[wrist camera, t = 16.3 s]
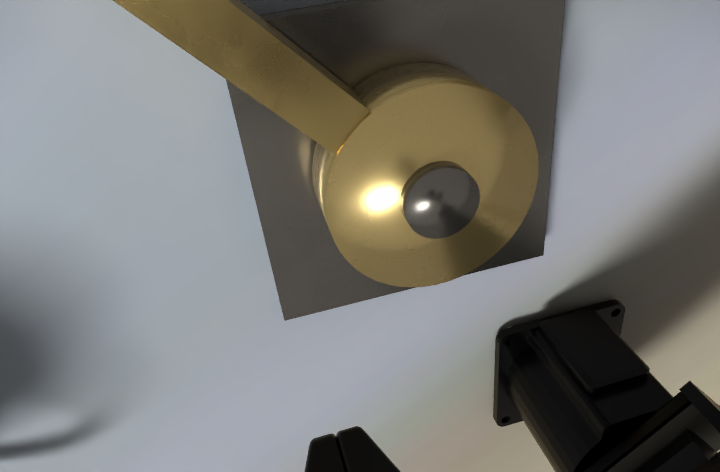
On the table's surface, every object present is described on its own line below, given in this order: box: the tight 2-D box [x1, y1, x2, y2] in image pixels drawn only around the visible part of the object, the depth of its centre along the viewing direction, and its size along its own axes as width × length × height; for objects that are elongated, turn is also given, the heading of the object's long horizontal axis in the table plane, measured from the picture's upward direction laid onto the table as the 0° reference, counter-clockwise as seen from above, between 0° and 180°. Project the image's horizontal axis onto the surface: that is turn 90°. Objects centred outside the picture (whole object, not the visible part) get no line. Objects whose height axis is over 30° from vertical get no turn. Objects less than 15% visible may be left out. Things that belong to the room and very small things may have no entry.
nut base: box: [226, 0, 565, 320], centre depth 20 cm, size 11×11×1 cm
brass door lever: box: [113, 0, 539, 287], centre depth 16 cm, size 16×7×3 cm, turn 49°
